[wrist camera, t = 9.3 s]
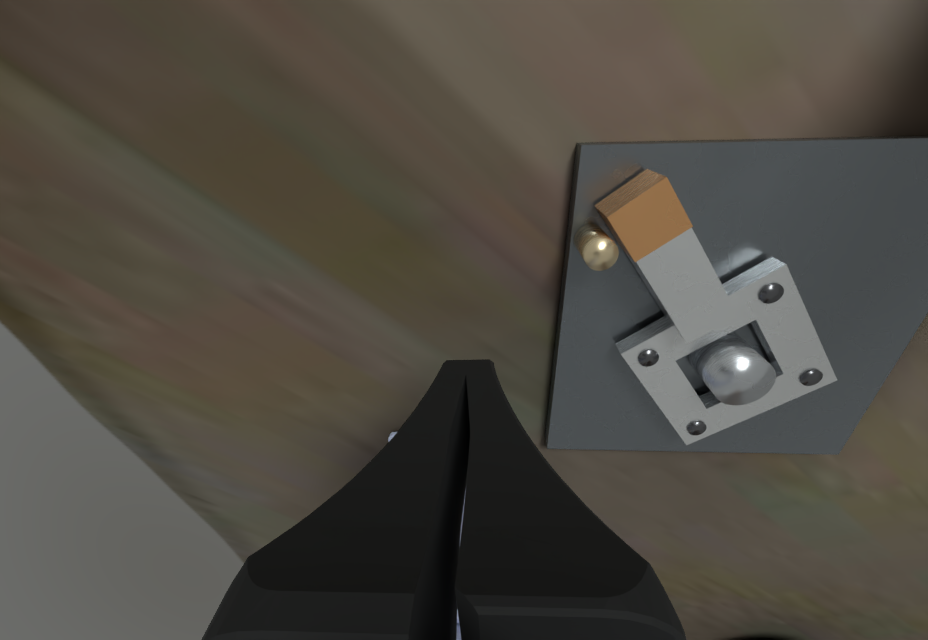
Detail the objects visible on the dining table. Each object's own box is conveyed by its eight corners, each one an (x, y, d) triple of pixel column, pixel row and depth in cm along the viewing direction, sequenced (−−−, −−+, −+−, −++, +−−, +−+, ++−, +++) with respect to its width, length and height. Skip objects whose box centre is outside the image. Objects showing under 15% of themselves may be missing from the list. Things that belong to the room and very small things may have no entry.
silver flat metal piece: (822, 368, 21) (854, 393, 19) (678, 432, 24) (695, 459, 22) (710, 123, 16) (741, 126, 14) (542, 242, 18) (548, 257, 16)
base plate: (826, 442, 25) (875, 490, 22) (545, 437, 26) (553, 482, 23) (1009, 134, 16) (1133, 141, 13) (576, 142, 17) (596, 151, 14)
